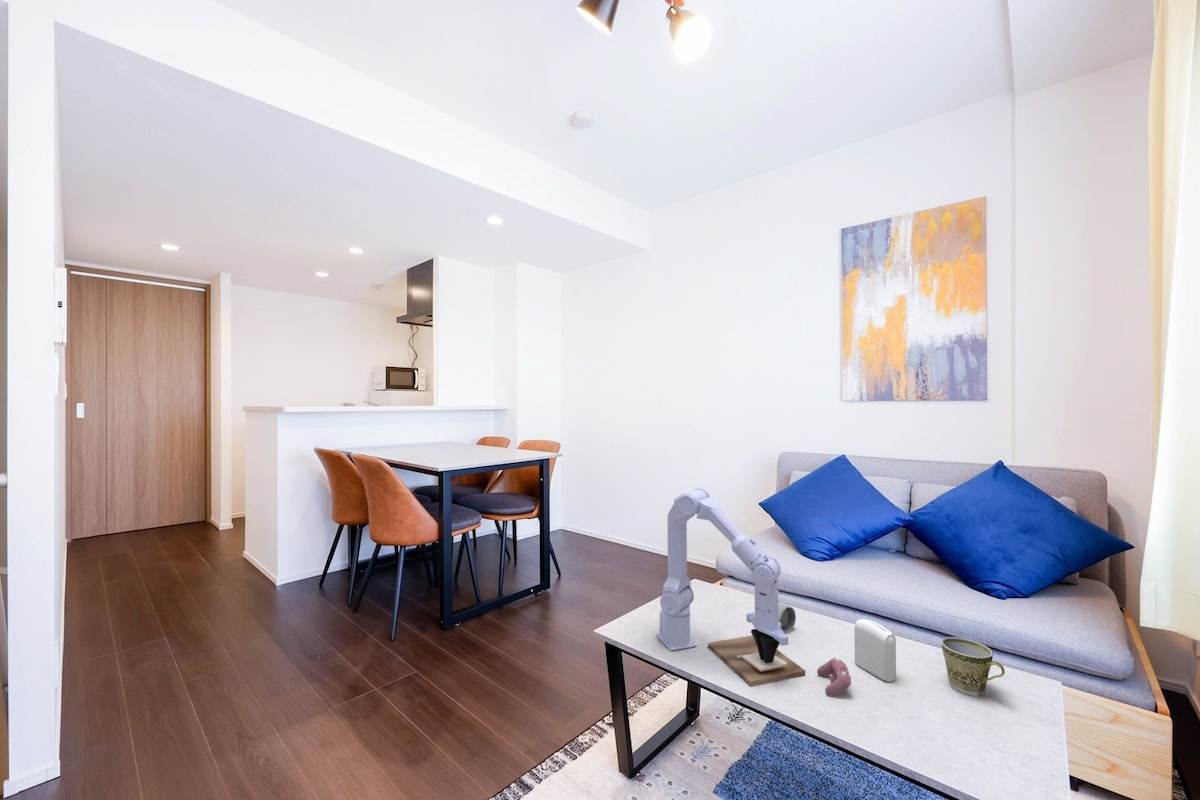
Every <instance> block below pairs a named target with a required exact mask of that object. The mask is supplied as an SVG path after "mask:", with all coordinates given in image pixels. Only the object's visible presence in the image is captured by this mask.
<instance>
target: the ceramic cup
mask: <svg viewBox="0 0 1200 800" xmlns="http://www.w3.org/2000/svg"><path fill="white" fill-rule="evenodd" d="M941 649H942V653H943V658H944V661H945V668H946V672H947V678H948V682H949V685H950V686H951V688H952V689H953V688H954V689H953V690H955V689H956V690H955V691H957V690H958V691H957V692H959V691H960V692H959V693H961V692H962V693H961V694H963V693H964V694H963V695H966V694H968V695H967V696H971V695H973V696H972V697H976V696H978V697H981V696H983V695H984V694H985V691H986V686H987V682H988V681H991V680H993V679H995V678H1002V677H1003V676H1004V675H1005V673H1006V671H1005V669H1004V666H1003V665H1002V664H1001V663H1000V662H997V661H993V655H994V653H993V650H991V649H990V648H989V647H988V646H987V645H984V644H982V643H981V642H977V641H974V640H971V639H969V638H963V637H956V636H951V637H950V636H949V637H944V638H943V639H941ZM991 666H997V667H998V668H1000V670H1001V674H997V675H993V676H991V677H989V675H990V674H989V673H990V670H991ZM982 694H983V695H982ZM980 695H981V696H980Z"/></svg>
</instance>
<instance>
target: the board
mask: <svg viewBox="0 0 1200 800" xmlns="http://www.w3.org/2000/svg"><path fill="white" fill-rule="evenodd" d="M707 648H708V649H709V650H710V651H711V652H712V653H713V654H715V656H717V657H718V658H719V659H720V660H721V661H722V662H723V663H724V664H725V665H726V666H728V668H730V670H732V671H733V672H734V673H735V674H736V675H737V676H738V677H740V679H742V680H743V682H745V683H746V684H747V685H748V686H749V687H755V686H760V685H765V684H770V683H775V682H781V681H784V680H790V679H794V678H799V677H805V676H806V670H805V669H804V668H802V667H801V666H800V665H798V663H796V662H795V661H793V660H792V659H790V658H789V657H788V656H786V655H785V654H784V653H782V652H781V651H780V650H779V649H777V650H776V653H775V656H777V657H778V658H780V659H782V660H783V661H785V662H786V663H787V667H782V668H777V669H772V670H767V671H762V672H760V671H759V670H757V669H756V668H754V667H753V666H751V665H750V664H749V663H747V662H746V661H744V660H743V659H742V658H741V659H737V656H738V655H741V657H742V655H748V654H753V653H759V652H758V648H757V645H756V642H755V639H754V637H753V635H752V634H751V635H746V636H742V637H735V638H729V639H724V640H717V641H713V642H708V643H707Z"/></svg>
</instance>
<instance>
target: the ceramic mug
mask: <svg viewBox="0 0 1200 800" xmlns="http://www.w3.org/2000/svg"><path fill="white" fill-rule="evenodd" d="M796 616H797V615H796V611H795V609H794V608H793V607H792V606H790V605H788V604H784V603H781V602H778V622H779V623H781V627H780V628H781V629H782V631H783V632H784V633H785V634H788V633H789V634H790V633H791V632H792V631H793V629H794V627H795V626H796V620H797V617H796Z"/></svg>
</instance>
